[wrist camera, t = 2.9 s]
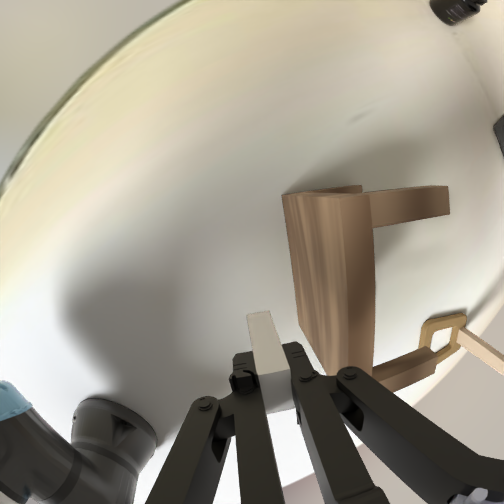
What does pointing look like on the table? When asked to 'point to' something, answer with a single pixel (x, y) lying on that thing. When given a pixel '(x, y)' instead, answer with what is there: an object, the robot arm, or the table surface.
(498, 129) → the computer monitor
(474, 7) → the supplement bottle
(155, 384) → the table surface
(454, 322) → the headphone stand
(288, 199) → the stool
